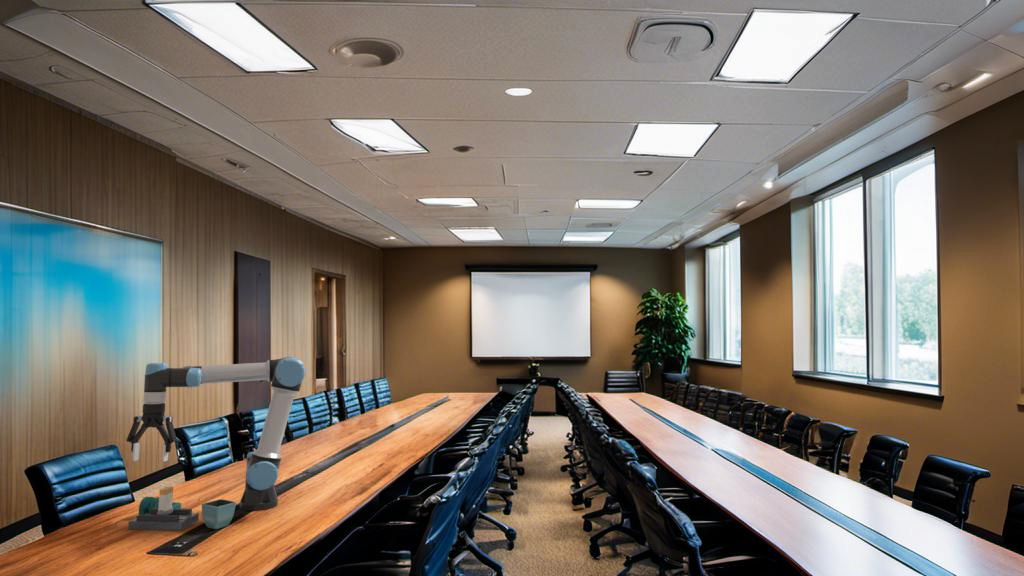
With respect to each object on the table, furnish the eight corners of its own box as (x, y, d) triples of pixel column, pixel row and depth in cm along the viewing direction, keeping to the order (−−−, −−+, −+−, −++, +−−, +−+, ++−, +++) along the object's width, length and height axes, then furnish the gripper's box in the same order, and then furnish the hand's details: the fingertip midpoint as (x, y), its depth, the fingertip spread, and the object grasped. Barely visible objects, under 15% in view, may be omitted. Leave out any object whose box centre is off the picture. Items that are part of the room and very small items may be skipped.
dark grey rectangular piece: (191, 513, 236) (192, 508, 236) (176, 521, 225) (176, 516, 226) (153, 512, 236) (153, 508, 237) (136, 520, 226) (136, 515, 226)
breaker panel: (198, 521, 237) (198, 512, 237) (181, 530, 225) (182, 521, 225) (147, 520, 237) (148, 511, 237) (128, 529, 225) (128, 520, 225)
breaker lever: (173, 514, 234) (174, 486, 235) (164, 518, 228) (166, 490, 229) (165, 514, 234) (167, 486, 235) (156, 518, 228) (158, 489, 229)
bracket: (153, 520, 237) (155, 499, 238) (138, 519, 238) (139, 498, 239) (184, 508, 255) (185, 489, 256) (169, 507, 256) (171, 488, 257)
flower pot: (235, 525, 232) (236, 501, 232) (215, 532, 224) (217, 507, 224) (219, 522, 235) (220, 498, 236) (199, 528, 227) (200, 504, 228)
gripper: (189, 402, 239) (185, 459, 237) (130, 401, 239) (126, 458, 237) (178, 404, 231) (174, 463, 229) (118, 403, 231) (113, 462, 229)
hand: (150, 460), depth 233 cm, fingers open, 11 cm apart
